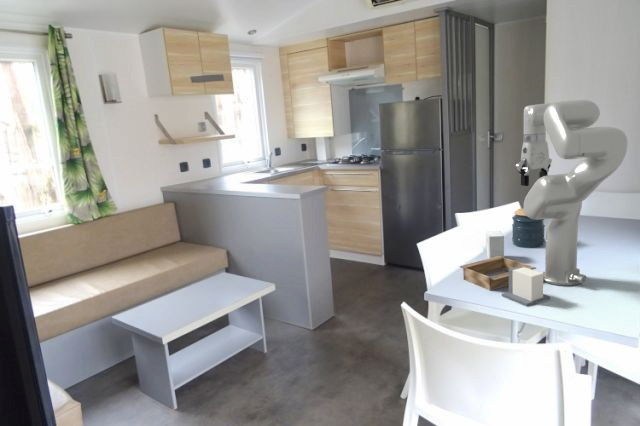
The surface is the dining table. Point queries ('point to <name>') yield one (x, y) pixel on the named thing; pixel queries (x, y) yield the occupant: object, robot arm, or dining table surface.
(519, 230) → the canister
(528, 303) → the pad
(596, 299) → the dining table surface
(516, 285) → the box
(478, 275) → the wooden tray
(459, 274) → the dining table surface
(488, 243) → the small box
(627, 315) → the dining table surface
